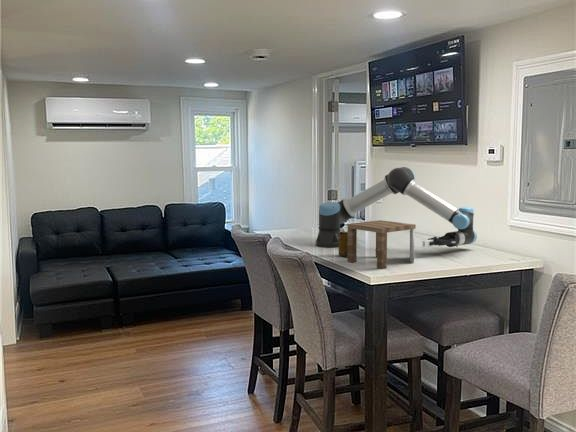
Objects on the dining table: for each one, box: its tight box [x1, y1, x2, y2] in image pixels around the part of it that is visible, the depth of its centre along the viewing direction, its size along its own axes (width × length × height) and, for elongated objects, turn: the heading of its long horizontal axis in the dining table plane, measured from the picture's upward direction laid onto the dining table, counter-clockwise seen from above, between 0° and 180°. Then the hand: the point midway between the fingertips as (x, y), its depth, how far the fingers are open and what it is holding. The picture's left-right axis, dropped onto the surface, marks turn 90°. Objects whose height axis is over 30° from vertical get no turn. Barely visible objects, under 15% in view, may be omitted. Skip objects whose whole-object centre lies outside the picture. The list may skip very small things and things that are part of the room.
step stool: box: [346, 219, 417, 270], centre depth 257 cm, size 22×22×18 cm
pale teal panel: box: [409, 229, 416, 263], centre depth 261 cm, size 2×15×15 cm, turn 167°
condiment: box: [334, 231, 348, 258], centre depth 274 cm, size 7×8×12 cm
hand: (423, 243), depth 268 cm, fingers closed
